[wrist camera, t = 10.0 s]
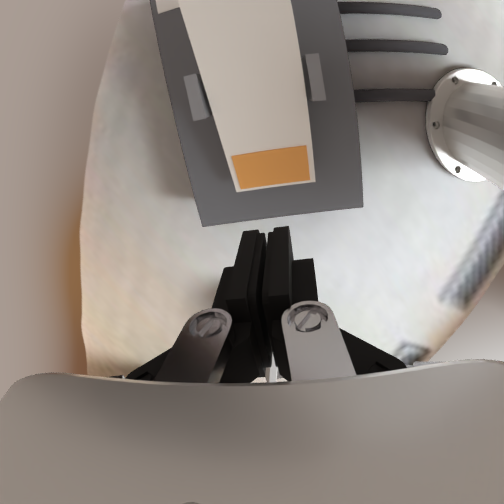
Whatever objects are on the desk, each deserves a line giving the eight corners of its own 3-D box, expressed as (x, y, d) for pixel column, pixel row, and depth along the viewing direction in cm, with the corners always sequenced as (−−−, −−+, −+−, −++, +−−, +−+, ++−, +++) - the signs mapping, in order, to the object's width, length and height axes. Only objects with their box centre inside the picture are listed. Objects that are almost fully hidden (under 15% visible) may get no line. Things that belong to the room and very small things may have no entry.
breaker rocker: (280, -39, 11) (282, -41, 11) (313, 172, 23) (315, 182, 23) (177, -18, 12) (171, -18, 12) (237, 182, 24) (236, 193, 24)
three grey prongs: (437, 10, 19) (442, 8, 18) (450, 101, 24) (455, 102, 23) (322, 4, 21) (324, 1, 20) (340, 102, 26) (342, 103, 25)
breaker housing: (316, -25, 20) (333, -73, 10) (349, 184, 30) (379, 234, 21) (170, 1, 22) (119, -29, 12) (215, 201, 33) (187, 256, 23)
